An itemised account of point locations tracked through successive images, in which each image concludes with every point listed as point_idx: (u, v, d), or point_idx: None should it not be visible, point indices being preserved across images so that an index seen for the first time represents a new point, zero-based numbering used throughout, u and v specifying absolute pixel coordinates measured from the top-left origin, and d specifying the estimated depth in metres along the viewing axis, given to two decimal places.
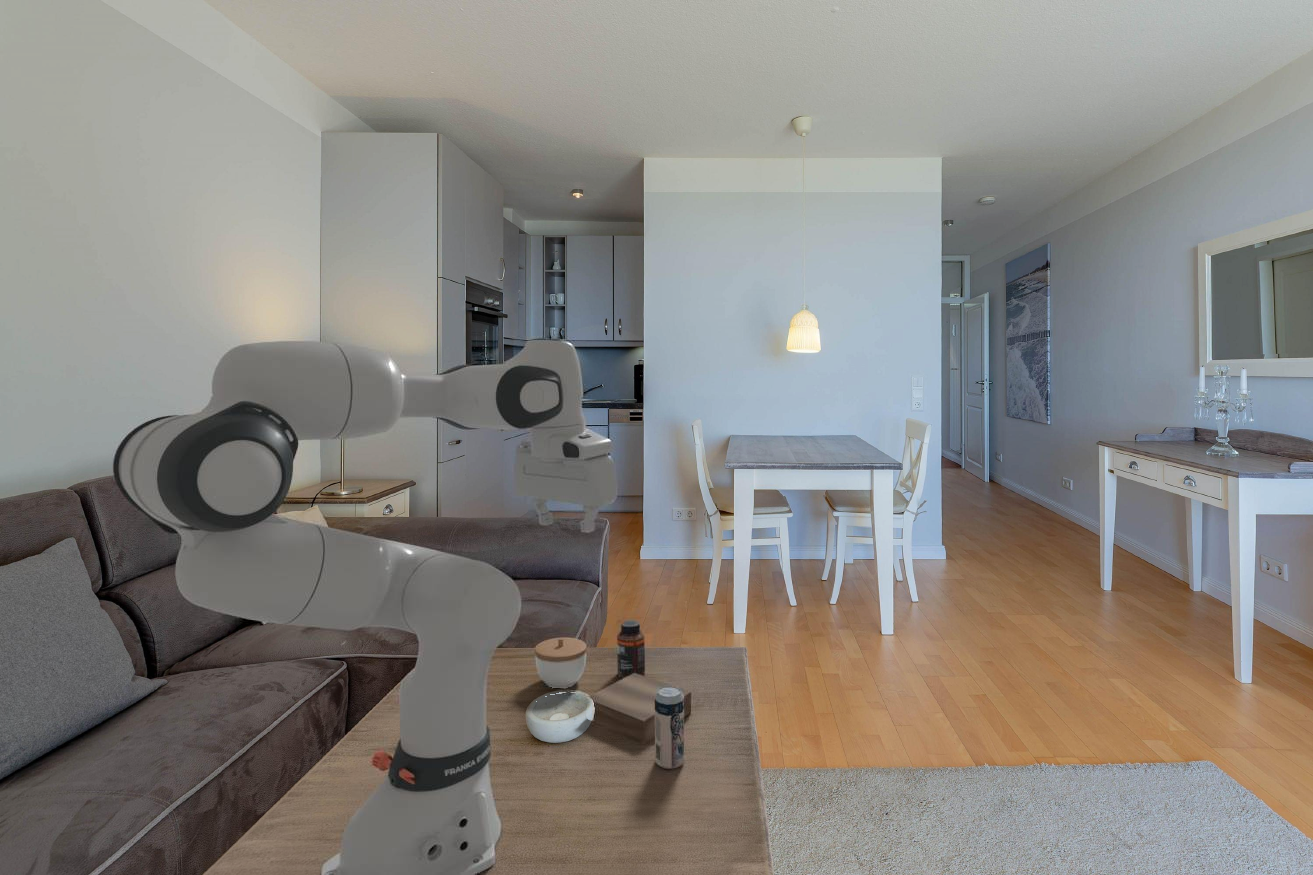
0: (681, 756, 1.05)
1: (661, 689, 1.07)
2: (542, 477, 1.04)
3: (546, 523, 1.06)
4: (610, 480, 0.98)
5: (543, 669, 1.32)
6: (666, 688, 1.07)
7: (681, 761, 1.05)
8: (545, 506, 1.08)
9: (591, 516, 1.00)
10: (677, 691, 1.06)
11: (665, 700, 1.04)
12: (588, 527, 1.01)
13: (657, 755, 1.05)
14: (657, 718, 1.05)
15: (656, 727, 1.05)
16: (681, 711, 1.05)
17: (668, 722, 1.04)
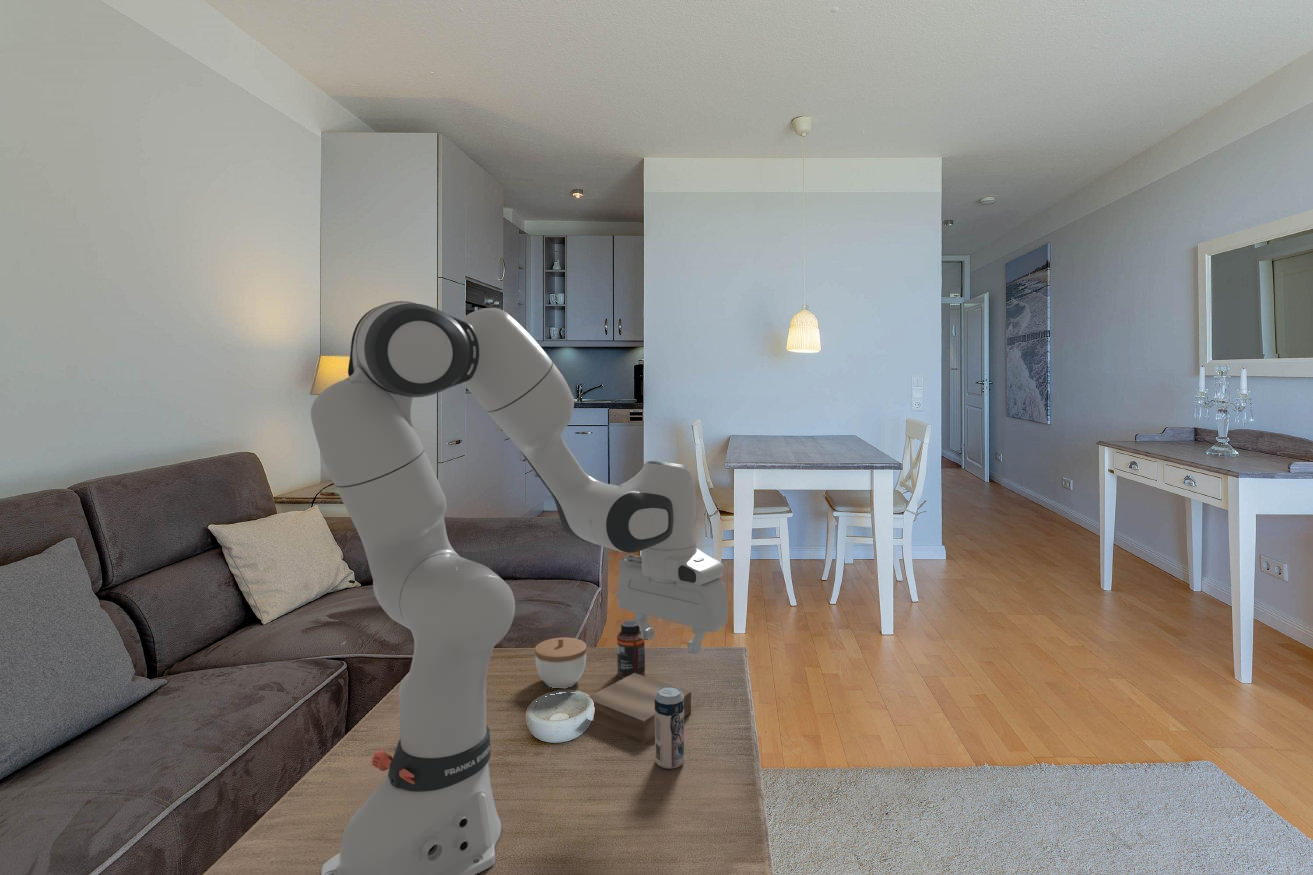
0: (681, 756, 1.05)
1: (661, 689, 1.07)
2: (649, 594, 1.05)
3: (648, 638, 1.08)
4: (723, 605, 0.99)
5: (543, 669, 1.32)
6: (666, 688, 1.07)
7: (681, 761, 1.05)
8: (646, 620, 1.09)
9: (700, 638, 1.02)
10: (677, 691, 1.06)
11: (665, 700, 1.04)
12: (696, 649, 1.02)
13: (657, 755, 1.05)
14: (657, 718, 1.05)
15: (656, 727, 1.05)
16: (681, 711, 1.05)
17: (668, 722, 1.04)
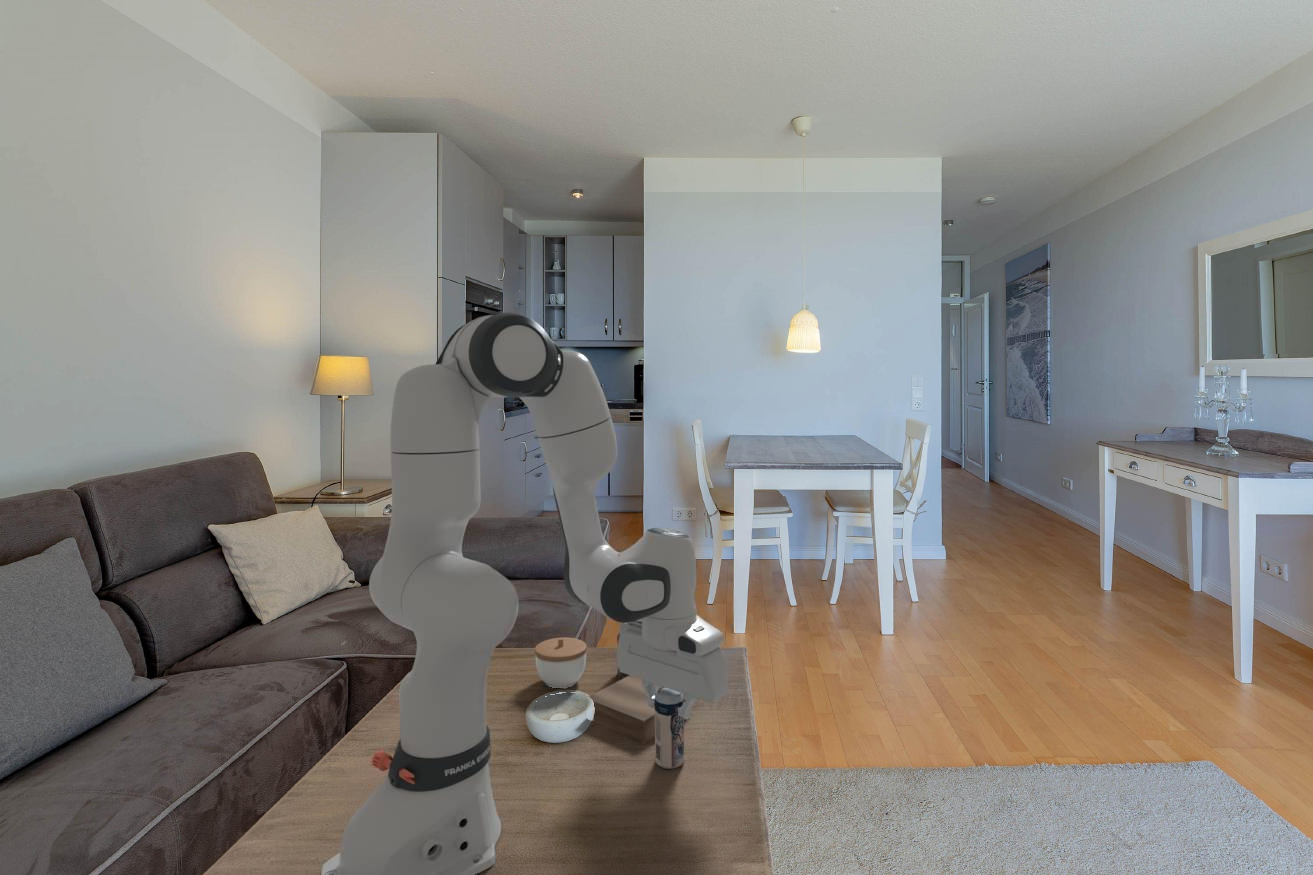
0: (681, 756, 1.05)
1: (661, 689, 1.07)
2: (649, 660, 1.06)
3: None
4: (722, 676, 1.00)
5: (543, 669, 1.32)
6: (666, 688, 1.07)
7: (681, 761, 1.05)
8: (653, 687, 1.09)
9: (690, 704, 1.03)
10: None
11: (665, 700, 1.04)
12: (686, 714, 1.03)
13: (657, 755, 1.05)
14: (657, 718, 1.05)
15: (656, 727, 1.05)
16: None
17: (668, 722, 1.04)
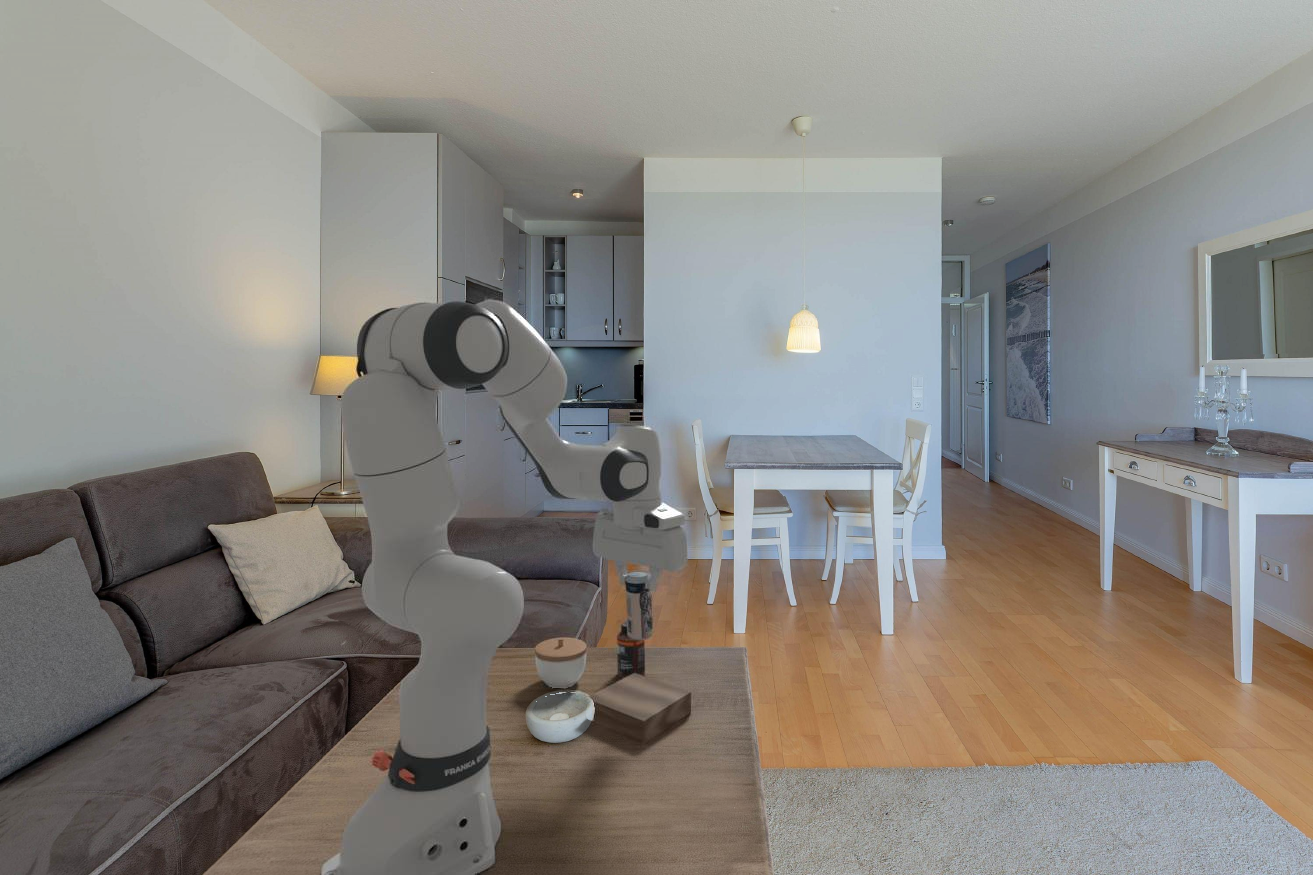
0: (650, 629, 1.20)
1: (631, 573, 1.22)
2: (620, 541, 1.20)
3: None
4: (682, 549, 1.15)
5: (543, 669, 1.32)
6: (635, 572, 1.22)
7: (650, 634, 1.20)
8: (625, 568, 1.23)
9: (655, 577, 1.18)
10: (645, 574, 1.21)
11: (634, 580, 1.19)
12: (652, 586, 1.18)
13: (629, 629, 1.20)
14: (628, 597, 1.20)
15: (627, 605, 1.20)
16: None
17: (637, 599, 1.19)
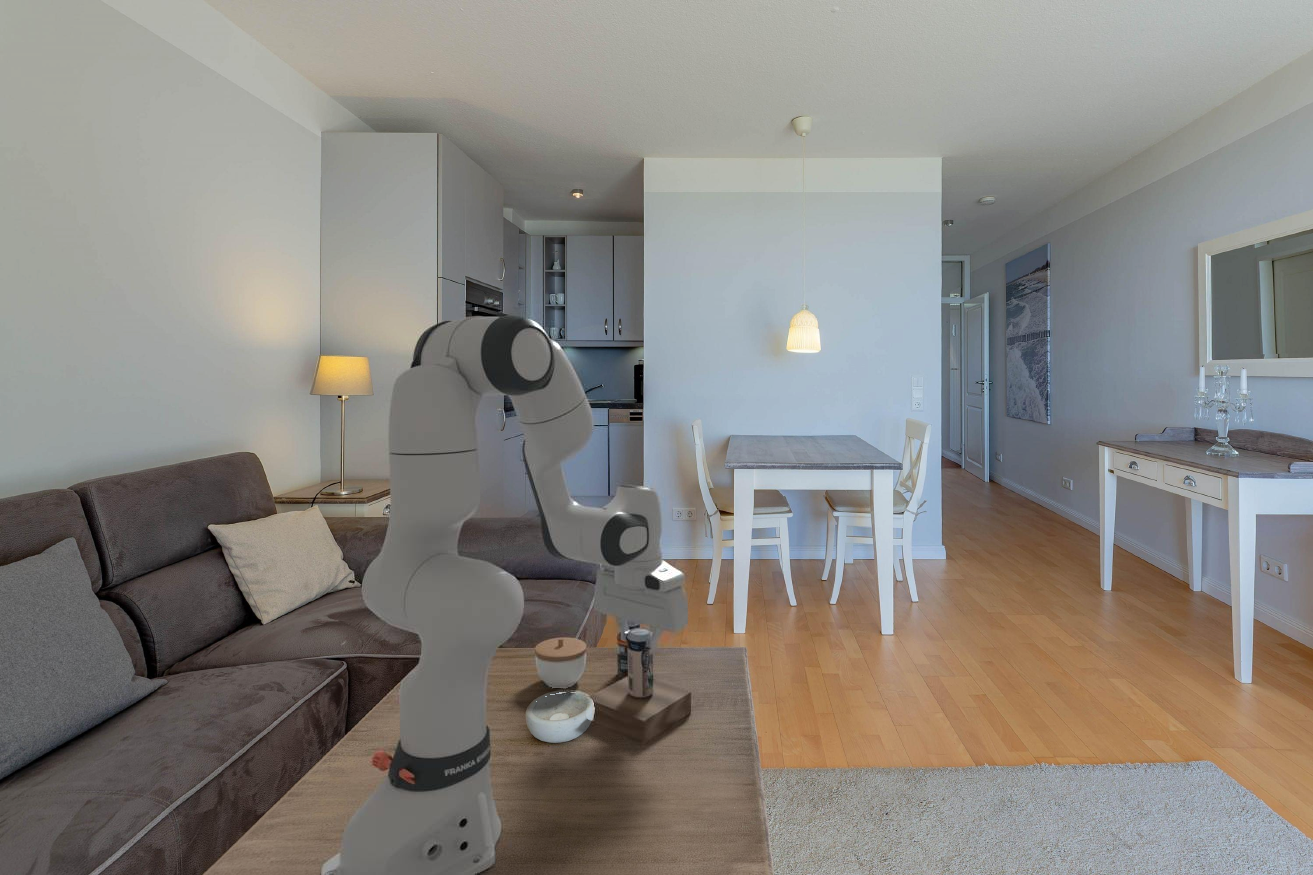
0: (651, 687, 1.21)
1: (633, 630, 1.23)
2: (621, 599, 1.21)
3: None
4: (683, 610, 1.16)
5: (543, 669, 1.32)
6: (637, 629, 1.23)
7: (651, 691, 1.21)
8: (626, 624, 1.24)
9: (656, 636, 1.19)
10: (647, 631, 1.22)
11: (636, 638, 1.20)
12: (653, 645, 1.19)
13: (630, 686, 1.21)
14: (630, 654, 1.21)
15: (629, 662, 1.21)
16: None
17: (639, 657, 1.20)
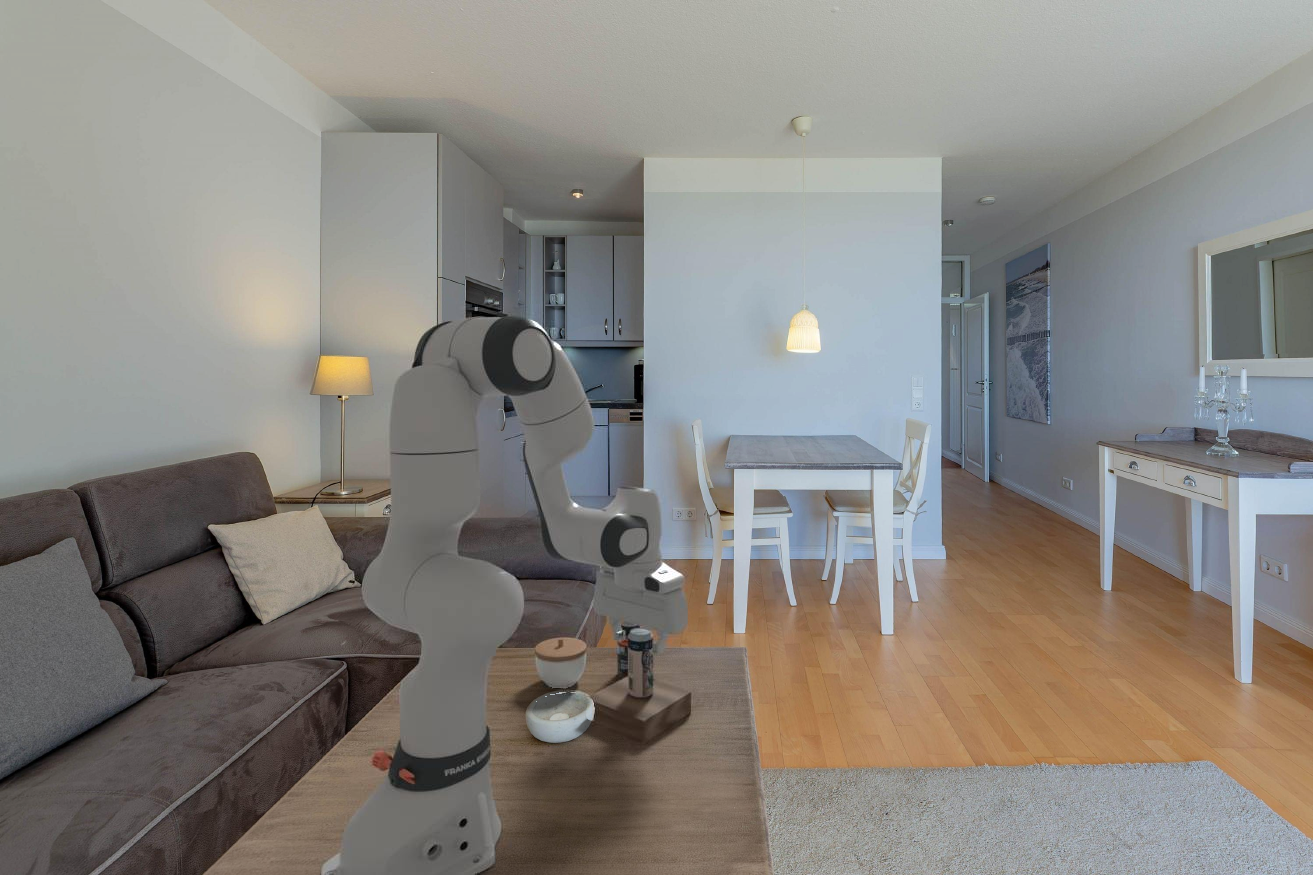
0: (651, 687, 1.21)
1: (633, 630, 1.23)
2: (621, 601, 1.21)
3: (620, 640, 1.24)
4: (683, 612, 1.15)
5: (543, 669, 1.32)
6: (638, 629, 1.23)
7: (651, 691, 1.21)
8: (619, 624, 1.25)
9: (663, 640, 1.18)
10: (647, 631, 1.22)
11: (636, 638, 1.20)
12: (659, 649, 1.18)
13: (630, 686, 1.21)
14: (630, 654, 1.21)
15: (629, 662, 1.21)
16: (651, 648, 1.21)
17: (639, 657, 1.20)
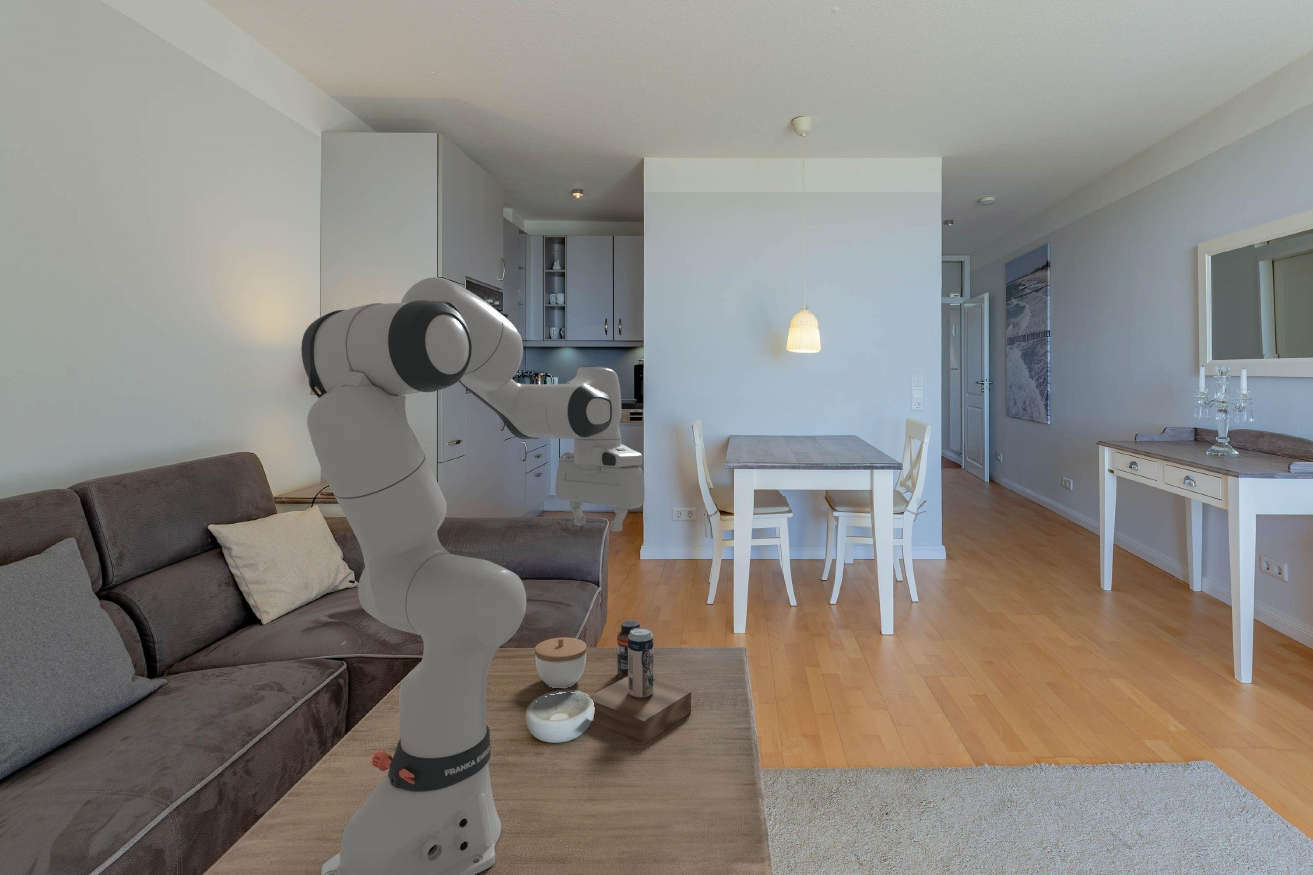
0: (651, 687, 1.21)
1: (633, 630, 1.23)
2: (581, 483, 1.23)
3: (580, 523, 1.25)
4: (639, 487, 1.17)
5: (543, 668, 1.32)
6: (638, 629, 1.23)
7: (651, 691, 1.21)
8: (580, 509, 1.26)
9: (620, 517, 1.19)
10: (647, 631, 1.22)
11: (636, 638, 1.20)
12: (617, 527, 1.19)
13: (630, 686, 1.21)
14: (630, 654, 1.21)
15: (629, 662, 1.21)
16: (651, 648, 1.21)
17: (639, 657, 1.20)
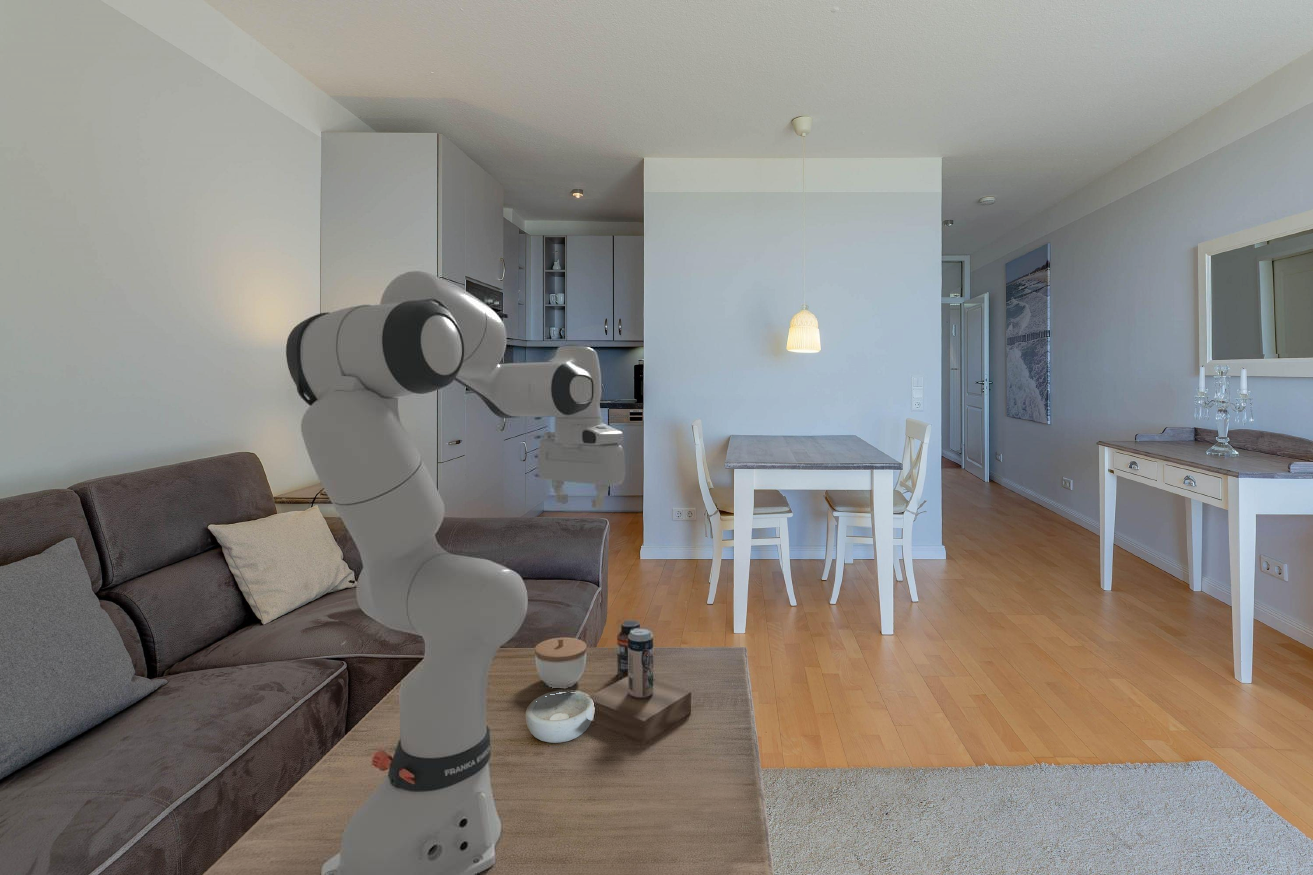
0: (651, 687, 1.21)
1: (633, 630, 1.23)
2: (562, 461, 1.23)
3: (562, 502, 1.26)
4: (620, 465, 1.17)
5: (543, 669, 1.32)
6: (638, 629, 1.23)
7: (651, 691, 1.21)
8: (562, 488, 1.27)
9: (601, 495, 1.20)
10: (647, 631, 1.22)
11: (636, 638, 1.20)
12: (598, 504, 1.20)
13: (630, 686, 1.21)
14: (630, 654, 1.21)
15: (629, 662, 1.21)
16: (651, 648, 1.21)
17: (639, 657, 1.20)
